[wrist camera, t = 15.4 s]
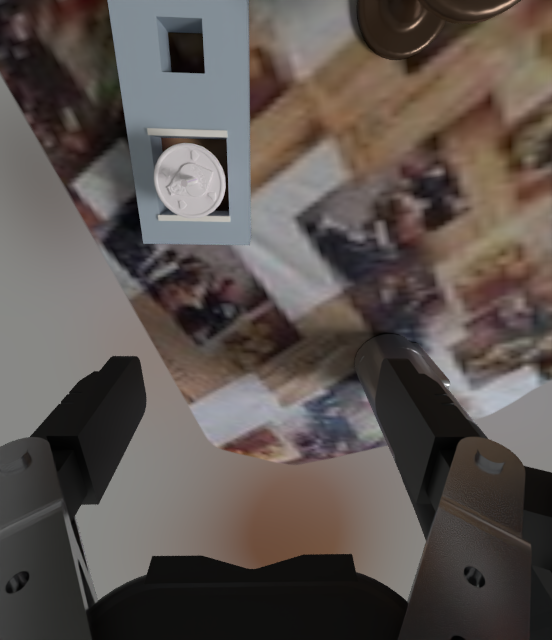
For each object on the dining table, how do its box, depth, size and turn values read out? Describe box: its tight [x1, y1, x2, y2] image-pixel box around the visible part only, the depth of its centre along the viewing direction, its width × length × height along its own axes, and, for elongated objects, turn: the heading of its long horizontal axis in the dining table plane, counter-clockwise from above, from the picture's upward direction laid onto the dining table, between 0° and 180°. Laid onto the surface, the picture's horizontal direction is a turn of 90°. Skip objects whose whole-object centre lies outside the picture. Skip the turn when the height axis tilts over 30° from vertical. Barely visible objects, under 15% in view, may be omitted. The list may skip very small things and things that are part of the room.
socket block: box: [107, 0, 251, 245], centre depth 35 cm, size 12×24×4 cm, turn 179°
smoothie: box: [154, 143, 226, 218], centre depth 32 cm, size 6×6×14 cm
